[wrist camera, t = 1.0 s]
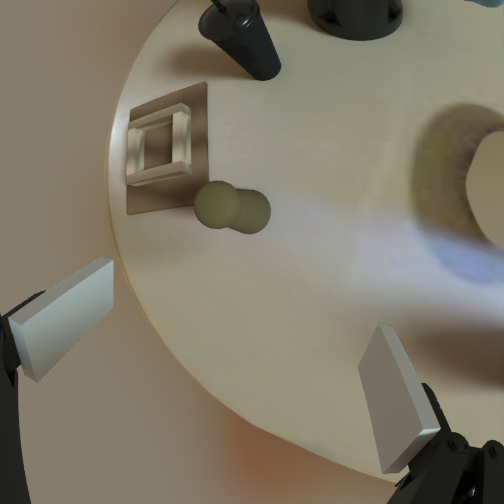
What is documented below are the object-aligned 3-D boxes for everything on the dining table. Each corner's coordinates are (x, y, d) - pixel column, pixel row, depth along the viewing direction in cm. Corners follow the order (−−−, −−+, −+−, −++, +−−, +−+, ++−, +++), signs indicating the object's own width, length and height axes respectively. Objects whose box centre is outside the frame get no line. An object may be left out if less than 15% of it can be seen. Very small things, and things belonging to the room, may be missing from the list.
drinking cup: (300, 61, 36) (250, -33, 18) (268, 97, 38) (196, 14, 20) (264, 42, 38) (203, -41, 20) (233, 75, 40) (156, 2, 22)
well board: (133, 110, 48) (120, 105, 44) (207, 83, 42) (196, 74, 39) (130, 215, 48) (116, 213, 45) (209, 202, 42) (197, 199, 39)
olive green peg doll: (224, 228, 42) (179, 225, 31) (235, 186, 41) (192, 170, 31) (264, 239, 40) (228, 239, 29) (275, 194, 39) (242, 179, 29)
